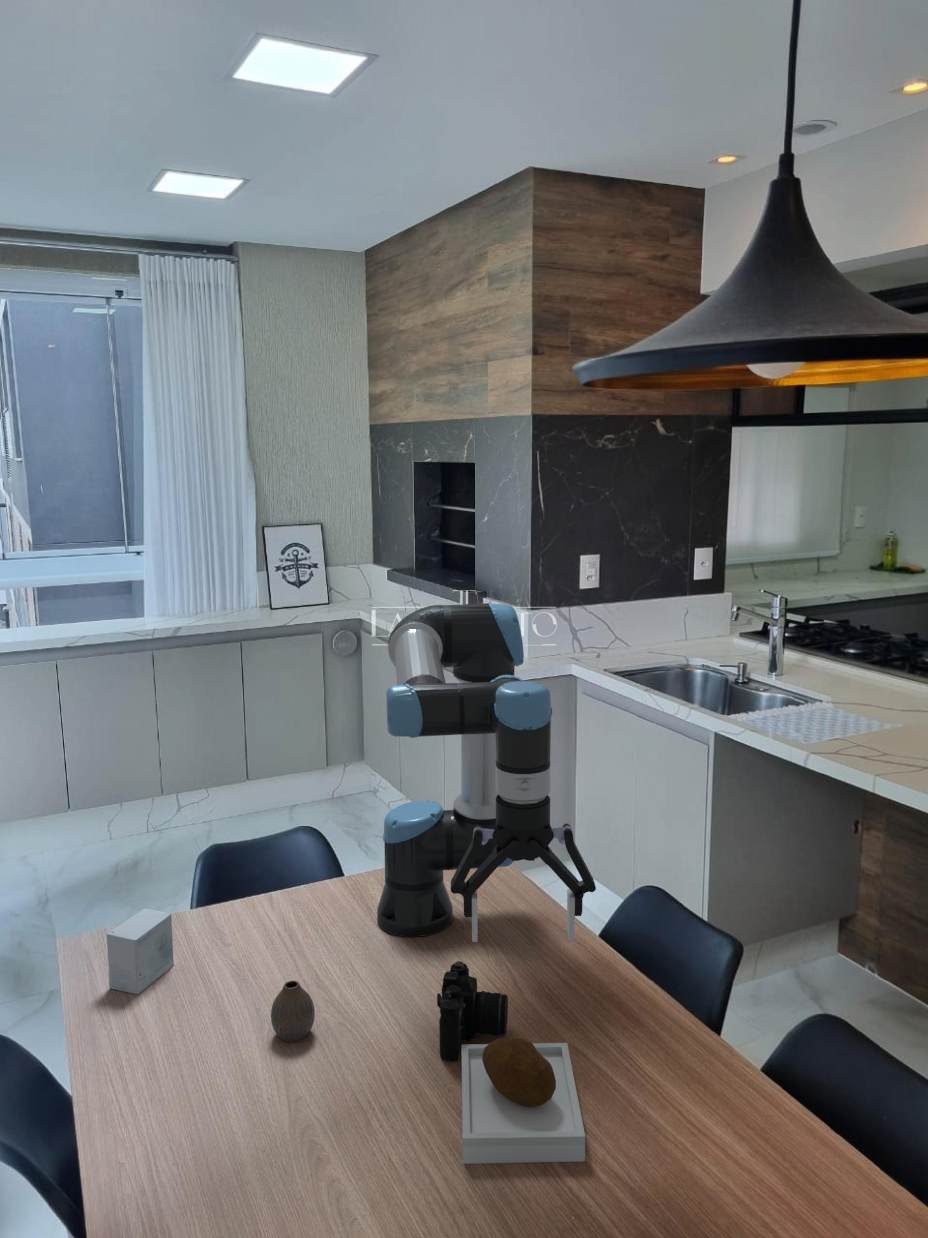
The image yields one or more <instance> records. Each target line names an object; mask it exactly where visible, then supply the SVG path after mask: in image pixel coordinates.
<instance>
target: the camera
mask: <svg viewBox="0 0 928 1238" xmlns="http://www.w3.org/2000/svg"><path fill="white" fill-rule="evenodd" d="M469 970H470V969H469V968H468V965H467V964H466V963H464V962H463V961H459V960H457V961H455V962H454V963H453V964H451V966H450V970H449V971H446V972H445V973H444V976H443V978H442V985H441V993H437V994H436V1004H437V1007H438V1008H439V1014H440V1017H439V1022H438V1023H439V1056H440V1059H441V1060H443V1061H445V1062H452V1063H454V1062H458V1061H459V1060H460V1056H461V1053H462V1045H463V1043H464V1042H465V1041H471V1040H472V1041H473V1040H474V1038H475V1037H476V1035H479V1036H486V1035H487V1036H492V1037H493V1036H494V1037H498V1036H502V1035H503V1036H505V1035H506V1034H507V1029H508V1019H509V1016H508V1015H509V997H508V995H507V994H506V993H505V994H502V993H501V992H490V991H484V990H481V991H478V980H477V977H475V976H471V975H470V971H469Z"/></svg>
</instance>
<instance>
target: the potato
mask: <svg viewBox="0 0 928 1238" xmlns="http://www.w3.org/2000/svg"><path fill="white" fill-rule="evenodd" d="M487 1044H488V1045H487V1046H486V1047H485V1048H484V1051H483V1058H482V1061H483V1065H484V1067H485V1070H486V1073H487V1074H488V1076H489V1078H490V1080H491V1082H492V1084H493V1085H494V1087H495V1088H496V1090H497V1091H498V1092H499V1093H501V1094H502V1095H503V1096H505V1097H506V1098H507V1099H509V1100H511V1101H512V1102H514V1103H517V1104H519V1105H522V1106H528V1107H534V1106H540V1105H543V1104H544V1103H546V1102H547V1101H549V1100H550V1099H551V1098H552V1096H553V1094H554V1091H555V1089H556V1080H555V1075H554V1072H553V1068H552V1065H551V1064H550V1063H549V1061H547V1060H546V1059H545V1058H544V1057H543V1056H542V1055H541V1054H540V1053H539V1052H538V1051H537V1049H536V1048H535V1047H534V1045H533V1044H532V1042H531V1041H530V1040H529V1039H527V1038H524V1037H516V1036H515V1037H514V1036H513V1037H512V1036H511V1037H510V1036H508V1037H501V1038H500V1037H499V1038H497V1039H495V1040H492V1041H491V1042H490V1043H487Z"/></svg>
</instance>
